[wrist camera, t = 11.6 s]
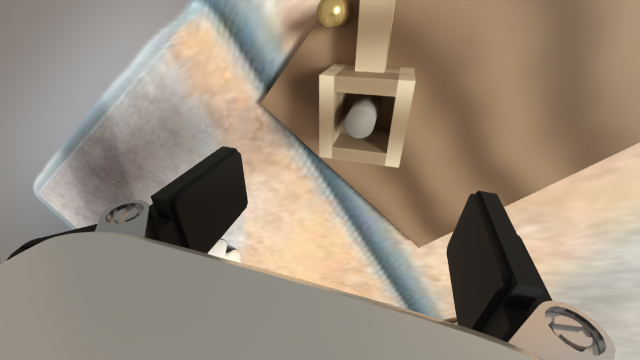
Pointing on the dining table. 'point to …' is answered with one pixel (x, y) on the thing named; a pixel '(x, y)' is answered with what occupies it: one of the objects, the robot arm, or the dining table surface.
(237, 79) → the dining table surface
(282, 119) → the board
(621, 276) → the dining table surface
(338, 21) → the dowel pin
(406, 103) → the square frame with tab
